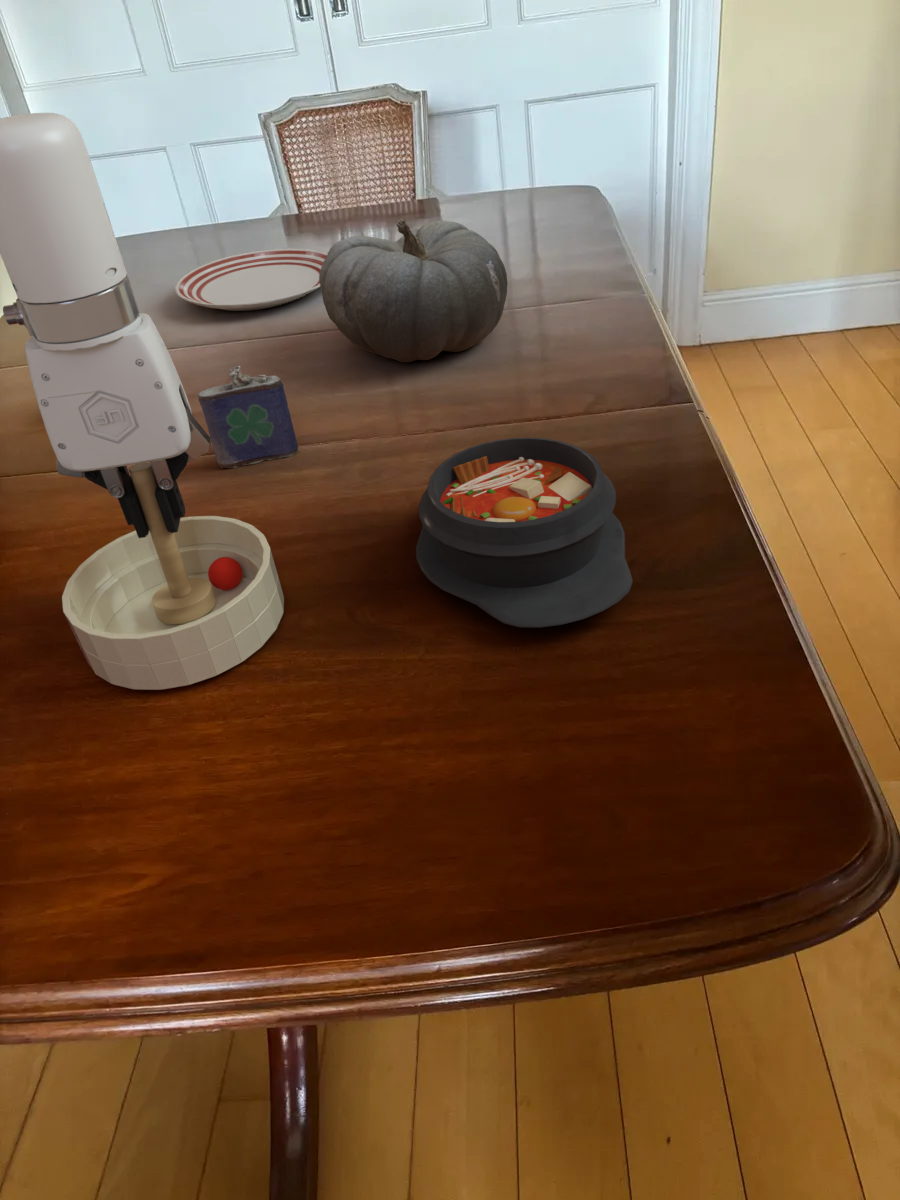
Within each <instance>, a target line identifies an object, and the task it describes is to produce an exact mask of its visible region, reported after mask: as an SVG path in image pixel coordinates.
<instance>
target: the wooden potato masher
mask: <svg viewBox="0 0 900 1200" xmlns="http://www.w3.org/2000/svg"><path fill="white" fill-rule="evenodd" d="M128 472H129V475H130V476H131V478H132V481H133V484H134V487H135V490H136V493H137V496H138V499H139V502H140V505H141V507H142V510H143V513H144V516H145V519H146V522H147V525H148V528H149V531H150V534H151V537H152V540H153V543H154V546H155V549H156V552H157V555H158V558H159V561H160V564H161V567H162V570H163V573H164V576H165V579H166V582H167V585H165V586H163V587H162V588H160V589H159V590H158V591H157V592H156V593H155V594H154V595H153V597H152V604H153V607H154V610H155V613H156V616H157V618H158V619H159V620H160V621H161V622H163V623H166V624H183V623H187V622H191V621H194V620H197V619H199V618H201V617H203V616H204V615H206V614H207V613H209V612H210V611H211V610H212V609H213V607H214V606H215V602H216V599H215V596H214V593H213V590H212V586H211V584H210V583H209V582H208V581H207V580H205V579H201V578H188V577H187V574H186V570H185V567H184V564H183V561H182V558H181V555H180V552H179V549H178V546H177V542H176V539H175V536H174V533H170V532H168V531H167V528H166V525H165V522H164V519H163V517H162V514H161V511H160V508H159V505H158V503H157V500H156V497H155V491H156V487H157V485H156V477H155V474H154V471H153V468H152V465H151V462H145V463H139V464H133V465H130V467H129V469H128Z"/></svg>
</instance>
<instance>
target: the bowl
mask: <svg viewBox="0 0 900 1200" xmlns="http://www.w3.org/2000/svg"><path fill="white" fill-rule="evenodd" d="M174 536H175V539H176V542H177V546H178V549H179V552H180V555H181V558H182V561H183V564H184V567H185V570H186V574H187V577H188V578H201V579H205V580H207V581H208V582H209V583H210V584H211V582H210V580H209V577H208V570H209V567H210V565H211V564H212V563H213V562H214V561H215V560H216V559H218V558H221V557H229V558H232V559H234V560H236V561H237V562H238V563H239V564H240V566H241V568H242V579H241V582H240V583H239V584H238V586H236V587H235V588H233V589H231V590H220V589H218V588H216V587H214V586H213V585H212V584H211V586H212V590H213V593H214V596H215V599H216V602H215V606H214V607H213V609H212V610H211V611H210V612H209V613H207V614H206V615H204V616H203V617H201V618H199V619H197V620H194V621H191V622H187V623H183V624H166V623H163V622H161V621H160V620H159V619H158V618H157V616H156V613H155V610H154V607H153V604H152V597H153V595H154V594H155V593H156V592H157V591H158V590H159V589H160V588H162V587H163V586H165V585H167V582H166V579H165V576H164V573H163V570H162V567H161V564H160V561H159V558H158V555H157V552H156V549H155V546H154V543H153V540H152V537H151V534H150V531H149V533H148V535H146V537H144V538H139V537H138V535H137V533H136V530H135V529H134V530H133V531H131V532H129V533H126V534H124V535H121V536H119V537H117V538H115V539H114V540H112V541H111V542H108V543H107V544H106V545H104V546H102V547H101V548H99V549H97V550H96V551H95V552H94V553H92V554H91V555H90V556H89V557H88V558H87V559H85V560H84V561H83V562H82V563H80V565H79V566H78V567H77V568H76V569H75V571H74V572H73V573H72V574H71V576H70V577H69V578H68V580H67V582H66V584H65V587H64V590H63V592H62V595H61V603H62V612H63V615H64V616H65V619H66V622H67V623H68V625H69V627H70V630H71V631H72V634H73V636H74V637H75V640H76V642H77V644H78V646H79V648H80V650H81V652H82V654H83V656H84V659H85V661H86V663H87V664H88V665H89V667H90V668H91V670H92V671H93V673H94V674H95V675H96V676H98V677H99V678H101V679H103V680H104V681H106V682H107V683H109V684H111V685H114V686H117V687H118V686H119V687H122V688H127V689H130V690H137V691H139V690H141V691H143V690H144V691H146V690H147V691H160V690H161V691H162V690H168V689H173V688H174V689H175V688H179V687H185V686H190V685H193V684H195V683H199V682H202V681H205V680H208V679H211V678H214V677H217V676H218V675H220V674H223V673H224V672H227V671H228V670H231V669H232V668H234V667H236V666H238V665H240V664H241V663H243V662H244V661H246V660H247V659H248V658H250V657H251V656H252V655H253V654H254V653H256V652H257V651H259V650H260V649H261V648H263V646H265V644H266V642H267V641H268V640H269V639H270V638H271V637H272V636H273V634H274V633H275V632H276V631H277V629H278V627H279V624H280V621H281V620H282V618H283V615H284V610H285V595H284V592H283V588H282V585H281V581H280V578H279V577H280V576H279V574H278V570H277V567H276V564H275V560H274V556H273V552H272V549H271V546H270V544H269V542H268V540H267V537H266V535H265V534H263V533H262V531H260V530H259V529H257V528H256V526H254V525H252V524H251V523H248V522H245V521H243V520H240V519H237V518H235V517H226V516H219V515H198V516H197V515H192V516H184V517H181V518H180V523H179V528H178V532H175V533H174Z"/></svg>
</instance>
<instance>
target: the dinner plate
mask: <svg viewBox="0 0 900 1200" xmlns="http://www.w3.org/2000/svg"><path fill="white" fill-rule="evenodd" d="M327 254H328V252H326V251H321V250H318V249H309V248H272V249H263V250H262V249H261V250H257V251H255V250H254V251H248V252H244V253H239V254H238V253H237V254H233V255H228V256H225V257H221V258H219V259H215V260H211V261H208V262H206V263H203V264H201V265H199V266H197V267H195V268H193V269H192V270H190V271H188V272H187V273H185V274H184V275H182V277H180V278H179V279H178V281H177V282H176V283H175V286H174V291H175V294H176V296H177V297H179V298H180V299H182V300H183V301H185V302H188V303H191V304H194V305H196V306H199V307H205V308H209V309H217V310H223V311H231V312H248V311H249V312H250V311H258V310H265V309H270V308H276V307H280V306H282V304H283V305H286V304H289V303H292V302H295V301H297V300H299V298H300V299H301V297H302V298H304V297H305V296H307V295H308V294H310V293H312V292H314V291H315V290H318V289H319V288H321V286H320V281H319V274H320V270H321V267H322V264H323V262H324V260H325V258H326V256H327ZM306 294H307V295H306ZM296 299H297V300H296ZM294 300H295V301H294ZM291 301H292V302H291ZM288 302H289V303H288ZM285 303H286V304H285Z"/></svg>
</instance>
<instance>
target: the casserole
mask: <svg viewBox="0 0 900 1200" xmlns="http://www.w3.org/2000/svg"><path fill="white" fill-rule="evenodd" d="M616 496H617V492H616V488H615V487H614V484H613V482H612V481H611V480H610V478H609V477H608V476H607V475H606V473H605V472H603V468H602V466H601V464H600V463H599V461H598V460H597V458H595V456H593V455H592V454H591V453H589V452H588V451H586V450H585V449H583V448H581V447H578V446H577V445H574V444H572V443H569V442H564V441H561V440H557V439H551V438H544V437H509V438H503V439H495V440H491V441H487V442H482V443H478V444H476V445H473V446H470V447H467V448H465V449H463V450H461V451H458V452H456V453H454V454H452V455H451V456H450V457H448V458H447V459H445V460H443V462H441V463H440V464H439V465H438V466H437V467H436V468H435V469H434V471H433V472H432V474H431V475H430V476H429V479H428V483H427V487H426V490H425V491H424V492H423V493H422V495H421V496H420V497H421V498H420V501H419V504H418V517H419V520H420V522H421V524H422V526H421V527H422V528H421V530H420V533H419V537H418V539H417V543H416V547H415V555H416V561H417V564H418V567H419V569H420V572H422V573H423V574H424V576H425V577H426V578H427V580H429V582H431V583H432V584H433V585H434V586H436V587H438V588H439V589H440V590H442V591H444V592H445V593H448V594H450V595H453V596H455V597H457V598H460V599H461V600H464V601H466V602H468V603H470V604H473V605H475V606H476V607H478V608H479V609H481V610H482V611H484V612H485V613H487V614H488V615H490V616H491V617H493V618H494V619H496V620H497V621H498V622H499V621H500V623H502V624H504V625H508V626H513V627H517V628H539V629H540V628H547V627H554V626H555V627H556V626H561V625H562V626H563V625H566V624H570V623H573V622H577V621H582V620H585V619H588V618H590V617H593V616H594V615H597V614H600V613H602V612H604V611H605V610H607V609H609V608H610V607H613V606H614V605H615V604H617V603H619V602H620V601H621V600H622V599H623V598H624V597H625V596H627V594H629V593H630V590H631V587H632V585H633V583H634V582H633V581H634V580H633V577H632V572H631V570H630V567H629V563H628V562H627V559H626V533H625V531H624V528H623V526H622V523H621V521H620V520H619V518H618V517H617V515H615V513H614V509H615V506H616V503H617V497H616Z"/></svg>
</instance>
